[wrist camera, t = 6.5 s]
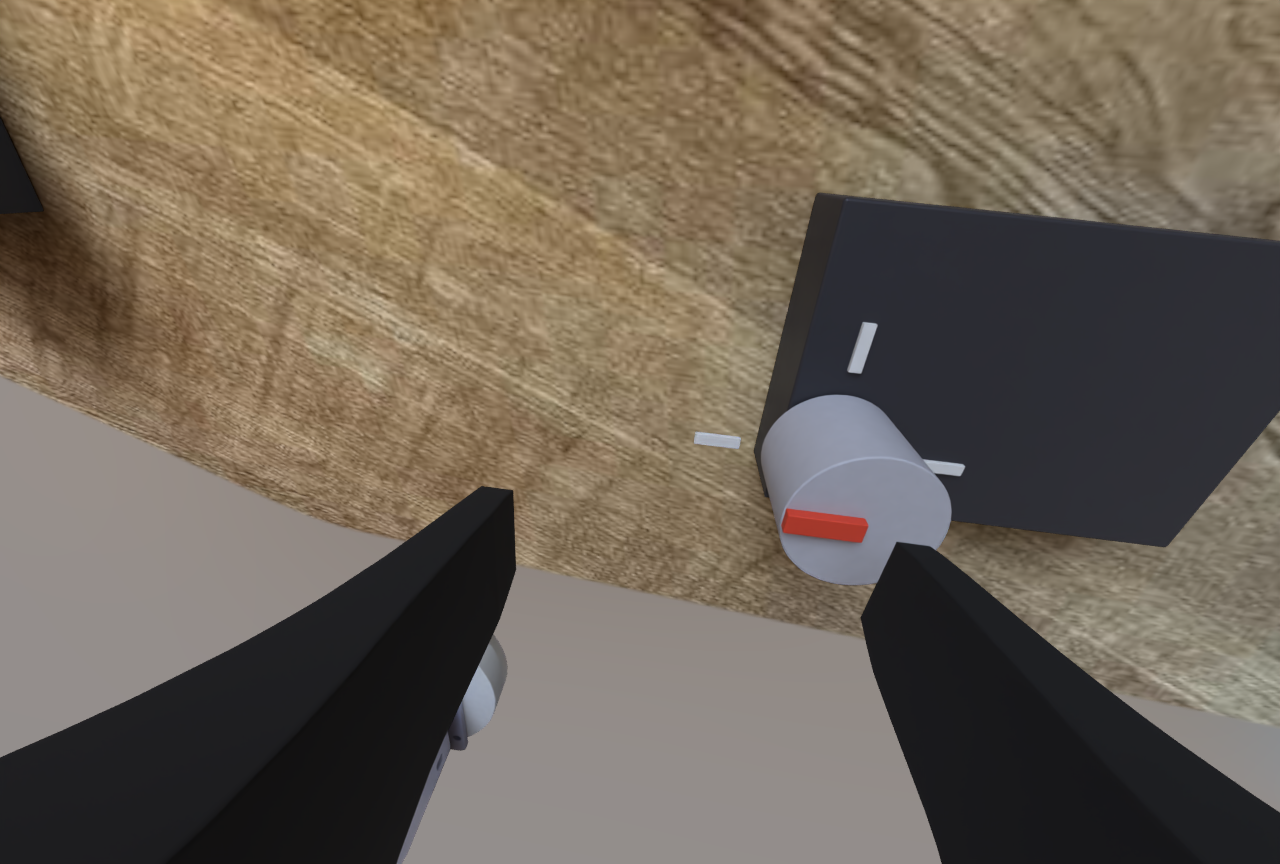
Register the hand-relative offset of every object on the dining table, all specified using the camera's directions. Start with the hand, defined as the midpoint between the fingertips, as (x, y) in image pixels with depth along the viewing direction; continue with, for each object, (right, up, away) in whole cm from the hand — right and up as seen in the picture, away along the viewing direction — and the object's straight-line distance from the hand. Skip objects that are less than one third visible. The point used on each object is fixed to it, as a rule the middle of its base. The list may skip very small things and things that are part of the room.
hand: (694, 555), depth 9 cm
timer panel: (+9, +4, +7) cm, 12 cm away
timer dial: (+5, +2, +6) cm, 7 cm away
